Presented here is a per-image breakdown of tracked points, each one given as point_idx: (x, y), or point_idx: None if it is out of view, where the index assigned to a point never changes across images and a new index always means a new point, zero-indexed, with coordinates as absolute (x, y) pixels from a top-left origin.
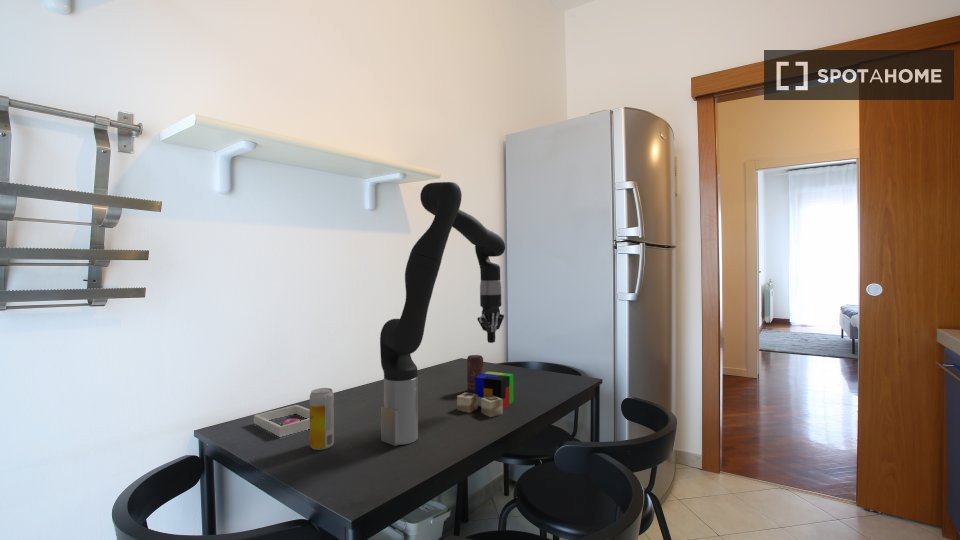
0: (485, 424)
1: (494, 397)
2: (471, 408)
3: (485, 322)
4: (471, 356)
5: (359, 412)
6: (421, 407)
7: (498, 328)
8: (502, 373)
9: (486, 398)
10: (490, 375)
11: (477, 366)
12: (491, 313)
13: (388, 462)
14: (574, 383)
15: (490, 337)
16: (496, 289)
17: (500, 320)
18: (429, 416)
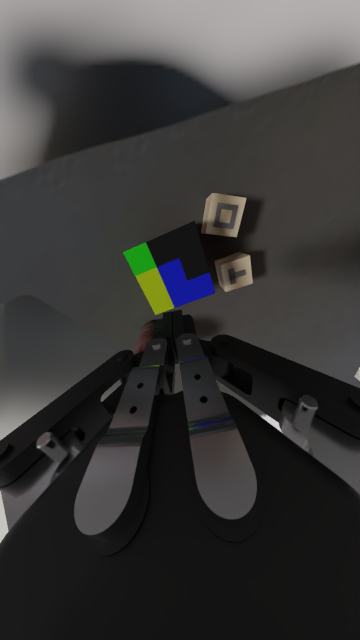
0: (273, 173)
1: (217, 216)
2: (235, 254)
3: (303, 375)
4: None
5: (317, 351)
6: (260, 322)
7: (122, 353)
8: (141, 277)
9: (233, 225)
10: (177, 282)
11: None
12: (256, 501)
13: None
14: None
15: (193, 323)
16: None
17: (71, 406)
18: (287, 283)
